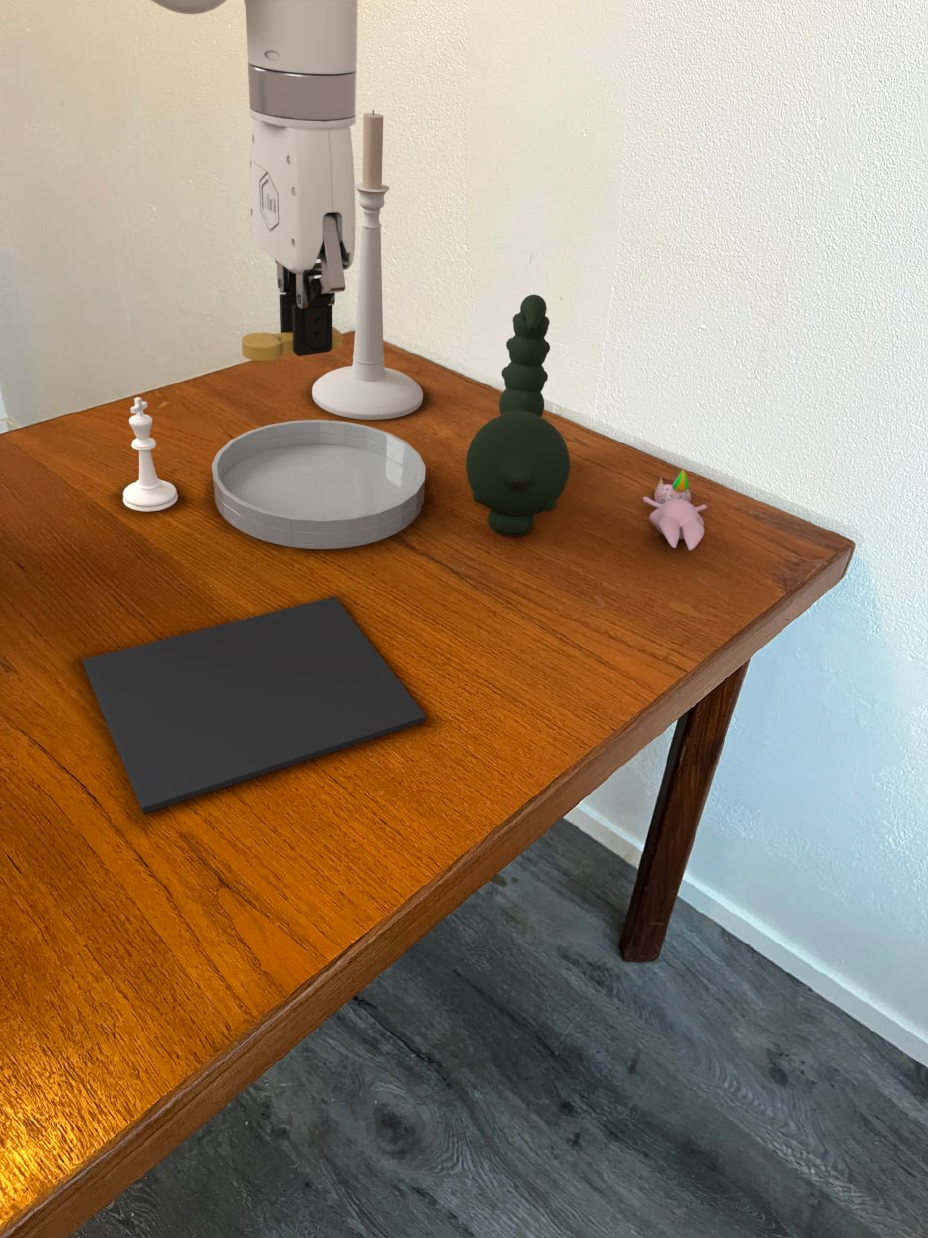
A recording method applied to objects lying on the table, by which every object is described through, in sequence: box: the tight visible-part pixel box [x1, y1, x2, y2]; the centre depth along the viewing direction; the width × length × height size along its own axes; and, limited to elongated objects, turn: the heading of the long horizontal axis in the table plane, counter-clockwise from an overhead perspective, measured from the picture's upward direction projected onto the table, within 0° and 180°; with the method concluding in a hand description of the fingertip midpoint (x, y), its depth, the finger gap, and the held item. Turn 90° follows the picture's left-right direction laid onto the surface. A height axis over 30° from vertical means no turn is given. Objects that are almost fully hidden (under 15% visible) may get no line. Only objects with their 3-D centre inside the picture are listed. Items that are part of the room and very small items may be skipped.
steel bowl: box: [211, 419, 427, 550], centre depth 93 cm, size 20×20×3 cm
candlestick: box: [311, 109, 424, 421], centre depth 104 cm, size 13×13×30 cm
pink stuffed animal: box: [642, 470, 708, 551], centre depth 92 cm, size 6×6×15 cm
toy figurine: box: [465, 294, 571, 537], centre depth 91 cm, size 9×19×25 cm
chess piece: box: [122, 396, 179, 513], centre depth 88 cm, size 5×5×10 cm
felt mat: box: [82, 596, 427, 814], centre depth 70 cm, size 20×16×1 cm
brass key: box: [241, 326, 343, 362], centre depth 79 cm, size 8×3×1 cm, turn 121°
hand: (306, 345), depth 80 cm, fingers closed on brass key, 1 cm apart
